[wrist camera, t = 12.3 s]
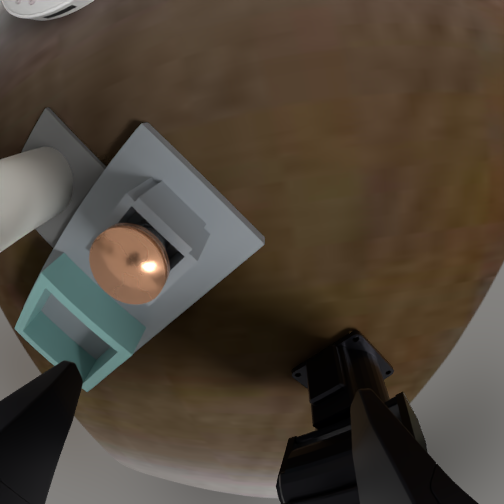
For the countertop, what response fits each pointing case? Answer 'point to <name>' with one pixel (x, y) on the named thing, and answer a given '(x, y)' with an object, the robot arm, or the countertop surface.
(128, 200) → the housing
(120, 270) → the plunger
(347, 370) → the robot arm
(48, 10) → the showerhead
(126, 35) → the countertop surface
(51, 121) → the mat
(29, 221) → the cartridge
